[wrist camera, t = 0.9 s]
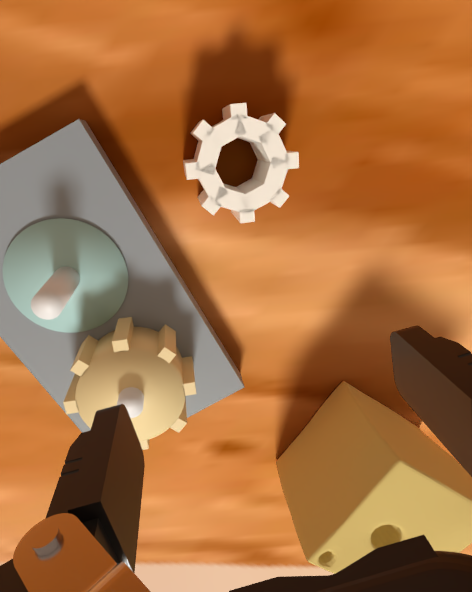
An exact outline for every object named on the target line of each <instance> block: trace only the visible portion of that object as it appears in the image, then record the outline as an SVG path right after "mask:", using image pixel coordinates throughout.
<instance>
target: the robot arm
mask: <svg viewBox="0 0 472 592" xmlns="http://www.w3.org/2000/svg"><path fill="white" fill-rule="evenodd" d="M390 342H391V352H392V362H393V372H394V379H395V383H396V386H397V389H398V391H399V393H400V394H401V396H402V397H403V399H404V400H405V401H406V402H407V403H408V404H409V406H410V407H411V408H412V409H413V410H414V411H415V412H416V414H417V415H418V416H419V417H420V418H421V419H422V421H423V422H424V423H425V424H426V425H427V426H428V427H429V429H430V430H431V431H432V432H433V433H434V434H435V435H436V437H437V438H438V439H439V440H440V441H441V442H442V444H443V445H444V446H445V447H446V448H447V449H448V450H449V452H450V453H451V454H452V455H453V456H454V457H455V458H456V460H457V461H458V462H459V463H460V464H461V465H462V467H463V468H464V469H465V470H466V471H467V472H468V473H469V475H470V476H471V477H472V354H471V352H470V351H468V350H467V349H466V348H464V347H463V346H462V345H460V344H459V343H457V342H454V341H451V340H448V339H445V338H442V337H438V338H434V337H432V336H431V335H430V334H429V333H427V332H426V331H425V330H423V329H422V328H421V327H419V326H413V327H409V328H406V329H402V330H398V331H394V332H392V333H391V336H390ZM143 477H144V456H143V451H142V447H141V444H140V442H139V439H138V436H137V434H136V431H135V429H134V426H133V424H132V421H131V418H130V416H129V413H128V411H127V409H126V407H125V405H124V404H120V405H116V406H112V407H109V408H105V409H101V410H98V411H96V413H95V416H94V420H93V423H92V427H91V430H90V431H87V432H83V433H81V434H80V435H79V437H78V438H77V439H76V440H75V442H74V443H73V444H72V445H71V447H70V449H69V451H68V454H67V457H66V460H65V465H64V466H63V469H62V472H61V477H60V478H59V481H58V484H57V487H56V489H55V492H54V495H53V498H52V501H51V504H50V507H49V510H48V513H47V516H46V519H44V520H42V521H41V522H39V523H38V524H36V525H35V526H34V527H33V528H31V529H30V530H29V531H28V532H27V533H26V534H25V535H24V537H23V538H22V539H21V541H20V542H19V544H18V545H17V547H16V549H15V552H14V556H13V559H11V560H10V561H8V562H6V563H5V564H3V565H1V566H0V592H150V591H149V590H148V588H147V587H146V586H145V585H144V584H143V583H142V582H141V581H140V579H139V578H137V576H136V575H135V574H134V571H135V560H136V550H137V539H138V529H139V519H140V508H141V498H142V487H143ZM229 592H472V556H471V555H467V554H462V553H457V552H449V551H434V549H433V548H432V546H431V544H430V543H429V541H428V540H427V538H426V536H425V535H420V536H417V537H414V538H410V539H407V540H403V541H400V542H396V543H393V544H389V545H386V546H383V547H379V548H376V549H375V550H373V551H371V552H370V553H368V554H367V555H365V556H363V557H362V558H360V559H359V560H357V561H355V562H354V563H352V564H350V565H349V566H347V567H346V568H344V569H342V570H341V571H339V572H337V573H336V574H333V575H330V576H298V577H297V576H295V577H276V578H272V579H269V580H265V581H262V582H258V583H255V584H252V585H249V586H245V587H241V588H238V589H234V590H231V591H229Z"/></svg>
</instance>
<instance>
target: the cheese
mask: <svg viewBox="0 0 472 592" xmlns="http://www.w3.org/2000/svg"><path fill="white" fill-rule="evenodd" d="M276 464H277V469H278V474H279V478H280V482H281V486H282V489H283V492H284V495H285V498H286V501H287V504H288V507H289V510H290V513H291V516H292V519H293V523H294V526H295V529H296V532H297V535H298V538H299V541H300V544H301V546H302V549H303V552H304V554H305V557H306V559H307V561H308V562H310V563H311V564H314V565H316V566H318V567H320V568H322V569H325V570H327V571H329V572H332V573H334V574H336V573H337V572H339V571H341V570H342V569H344V568H346V567H347V566H349V565H350V564H352V563H354V562H355V561H357V560H359V559H360V558H362V557H363V556H365V555H367V554H368V553H370V552H371V551H373V550H375V549H376V548H379V547H383V546H386V545H389V544H393V543H396V542H400V541H403V540H407V539H410V538H414V537H417V536H420V535H425V536H426V538H427V540H428V541H429V543H430V544H431V546H432V548H433V549H434V551H449V552H457V553H459V552H461V551H462V550H463V549H465V548H466V547H467V546H469V545H470V544H471V543H472V477H471V476H470V475H469V473H468V472H467V471H466V470H465V469H464V468H463V467H462V466H461V465H460V464H459V463H458V462H457V461H456V460H455V459H454V458H453V457H452V456H450V455H449V454H448V453H447V452H446V451H444V450H443V449H442V448H441V447H440V446H438V445H437V444H436V443H435V442H434V441H432V440H431V439H430V438H429V437H428V436H427V435H426V434H424V433H423V432H422V431H421V430H420V429H419V428H418V427H417V426H415V425H414V424H412V423H411V422H409V421H408V420H406V419H405V418H403V417H402V416H400V415H399V414H397V413H396V412H394V411H393V410H391V409H389V408H388V407H386V406H384V405H383V404H381V403H379V402H378V401H376V400H374V399H373V398H371V397H369V396H367V395H366V394H364V393H362V392H361V391H359V390H358V389H356V388H354V387H353V386H351V385H350V384H348V383H347V382H345V381H343V382H341V384H340V385H339V386H338V387H337V388H336V389H335V390H334V391H333V393H332V394H331V395H330V396H329V397H328V399H327V400H326V401H325V402H324V404H323V405H322V406H321V407H320V409H319V410H318V411H317V413H316V414H315V415H314V416H313V418H312V419H311V420H310V422H309V423H308V424H307V426H306V427H305V428H304V429H303V431H302V432H301V433H300V434H299V435H298V436H297V438H296V439H295V440H294V441H293V442H292V444H291V445H290V446H289V447H288V448H287V449H286V450H285V452H284V453H283V454H282V455H281V456H280V457H279V459H278V460H277V461H276Z"/></svg>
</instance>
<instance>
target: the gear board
mask: <svg viewBox="0 0 472 592" xmlns="http://www.w3.org/2000/svg"><path fill="white" fill-rule="evenodd" d="M0 337H1V338H2V339H3V340H4V341H5V343H6V344H7V345H8V346H9V347H10V348H11V350H12V351H13V352H14V353H15V354H16V355H17V357H18V358H19V359H20V360H21V361H22V362H23V364H24V365H25V366H26V367H27V368H28V370H29V371H30V372H31V373H32V374H33V375H34V377H35V378H36V379H37V380H38V381H39V382H40V384H41V385H42V386H43V387H44V388H45V389H46V391H47V392H48V393H49V394H50V395H51V396H52V398H53V399H54V400H55V401H56V402H57V403H58V405H59V406H60V407H61V408H62V409H63V410H64V412H65V413H66V414H67V415H68V416H69V417H70V419H71V420H72V421H73V422H74V423H75V425H76V426H77V427H78V428H79V429H80V430H81V432H82V433H83V432H87V431H90V430H91V427H92V423H93V420H94V416H95V413H96V411H98V410H101V409H105V408H109V407H112V406H116V405H120V404H124V405H125V407H126V409H127V411H128V413H129V416H130V418H131V421H132V424H133V426H134V429H135V431H136V434H137V436H138V439H139V442H140V444H141V447H142V450H144V449H149V439H151V438H154V437H156V436H158V435H160V434H162V433H163V432H165V431H166V430H168V429H169V428H171V429H173V430H175V431H177V432H178V433H179V432H180V431H181V430H182V428H183V427H184V426H185V425H186V424H187V418H188V417H190V416H191V415H193V414H195V413H197V412H199V411H201V410H203V409H205V408H206V407H208V406H210V405H212V404H214V403H216V402H218V401H219V400H221V399H223V398H225V397H227V396H229V395H231V394H233V393H234V392H236V391H238V390H240V389H242V388H244V384H243V381H242V377H241V374H240V372H239V371H238V369H237V367H236V366H235V364H234V362H233V361H232V359H231V358H230V356H229V354H228V353H227V351H226V349H225V348H224V346H223V344H222V343H221V341H220V340H219V338H218V336H217V335H216V333H215V331H214V330H213V328H212V326H211V325H210V323H209V322H208V320H207V318H206V317H205V315H204V313H203V312H202V310H201V309H200V307H199V305H198V304H197V302H196V300H195V299H194V297H193V295H192V294H191V292H190V291H189V289H188V287H187V286H186V284H185V282H184V281H183V279H182V278H181V276H180V274H179V273H178V271H177V269H176V268H175V266H174V264H173V263H172V261H171V260H170V258H169V256H168V255H167V253H166V251H165V250H164V248H163V246H162V245H161V243H160V242H159V240H158V238H157V237H156V235H155V233H154V232H153V230H152V229H151V227H150V225H149V224H148V222H147V220H146V219H145V217H144V215H143V214H142V212H141V211H140V209H139V207H138V206H137V204H136V202H135V201H134V199H133V198H132V196H131V194H130V193H129V191H128V189H127V188H126V186H125V184H124V183H123V181H122V180H121V178H120V176H119V175H118V173H117V171H116V170H115V168H114V166H113V165H112V163H111V162H110V160H109V158H108V157H107V155H106V153H105V152H104V150H103V149H102V147H101V145H100V144H99V142H98V140H97V139H96V137H95V135H94V134H93V132H92V131H91V129H90V127H89V126H88V124H87V122H86V121H85V120H81V119H78V120H76V121H74V122H73V123H71V124H69V125H67V126H66V127H64V128H62V129H60V130H59V131H57V132H55V133H53V134H52V135H50V136H48V137H47V138H45V139H43V140H41V141H40V142H38V143H36V144H34V145H33V146H31V147H29V148H27V149H26V150H24V151H22V152H20V153H19V154H17V155H15V156H13V157H12V158H10V159H8V160H6V161H5V162H3V163H1V164H0Z"/></svg>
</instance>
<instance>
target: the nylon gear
mask: <svg viewBox="0 0 472 592" xmlns="http://www.w3.org/2000/svg"><path fill="white" fill-rule="evenodd" d="M222 114H223V120H222V121H221V122H219V123H217V124H215V125H214V126H212V127H211V126H210V125H209V124H208V123H207V122H206V121H205V120H201V121H200V122H198V124H197V125H196V126H195V128H194V129H193V130H192V132H191V133H190V134H191V135H192V136H194V137H195V138H196V139H197V140H198V144H197V147H196V151H195V155H194V159H188V160H183V163H184V171H185V176H186V178H187V180H189V179H199V181H200V183H201V185H202V187H203V189H204V190H203V191H202V192H201V193H200V195H199V196H198V199H199V201H200V204H201V206H202V207H204V208H205V209H206V210H207V211H209V212H210V213H211V214H212V215H214V214H215V213H216V212H217V210H218V209H219V208H220V207H224V208H227V209H231V212H232V214H233V215H234V216H235V217H236V219H237V220H238V221H239V222H240V223H247V222H255V215H254V210H256V209H258V208H259V207H261V206H263V205H265V204H267V203H268V202H271V203H273V204H274V205H276V206H277V207H279V208H280V207H281V206H282V204H283V203H284V202H285V201H286V200H287V198H288V197H289V195H288V194H286V193H285V192H284V191H283V190H282V189H281V188H282V185H283V182H284V179H285V176H286V173H287V170H288V169H294V168H299V154H298V152H294V151H286V149H285V147H284V145H283V143H282V140H281V138H280V136H279V133H280V131H281V130H282V129H283V128H284V126H285V125H286V123H285V122H284V121H283V120H282V119H281V118H280V117H278V116H277V115H276V114H275V113H272V114H268V115H264V116H261V117H260V118H259V119H255V118H252V117H249V116H247V105H246V103H237V104H229V105H228V106H226V107H224V108H222ZM236 138H239V139H241V140H244V141H247V142H249V143H250V145H251V147H252V149H253V151H254V153H255V155H256V157H257V159H258V160H257V163H256V167H255V170H254V173H253V176H252V178H251V179H249V180H248V181H246V182H244V183H242V184H240V185H239V186H237V187H234V186H231V185H228V184H224V183H223V182H222V180H221V179H220V177H219V175H218V173H217V171H216V169H215V168H216V164H217V161H218V157H219V154H220V150H221V147H222V146H224V145H225V144H227V143H229V142H231V141H233V140H234V139H236Z"/></svg>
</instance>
